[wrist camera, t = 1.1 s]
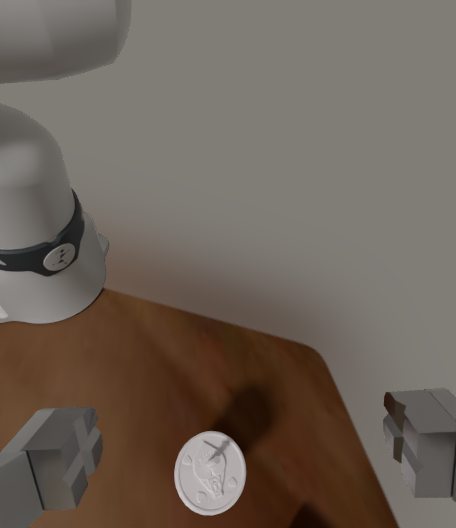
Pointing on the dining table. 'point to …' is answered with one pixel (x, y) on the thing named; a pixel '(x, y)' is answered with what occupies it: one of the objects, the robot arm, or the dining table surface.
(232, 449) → the smoothie
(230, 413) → the dining table surface
